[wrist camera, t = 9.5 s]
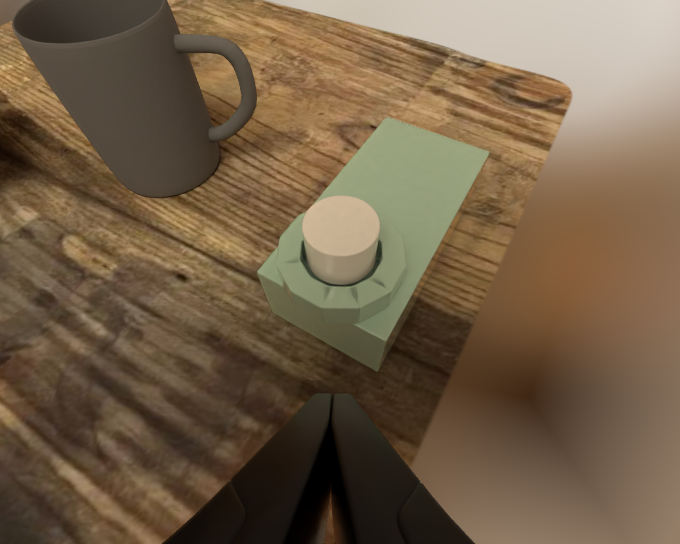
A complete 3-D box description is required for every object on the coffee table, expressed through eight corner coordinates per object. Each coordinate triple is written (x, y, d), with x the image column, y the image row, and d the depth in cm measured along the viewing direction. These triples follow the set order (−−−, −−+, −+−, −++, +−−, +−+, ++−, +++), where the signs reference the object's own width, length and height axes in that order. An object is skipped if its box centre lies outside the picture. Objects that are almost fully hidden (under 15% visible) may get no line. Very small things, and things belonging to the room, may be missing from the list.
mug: (101, 200, 30) (-25, 46, 20) (136, 129, 35) (49, -24, 24) (265, 200, 30) (224, 45, 19) (277, 129, 34) (249, -25, 24)
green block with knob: (380, 169, 31) (389, 93, 25) (468, 203, 29) (500, 128, 23) (265, 321, 24) (239, 263, 18) (371, 383, 22) (382, 340, 16)
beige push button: (329, 218, 20) (328, 185, 18) (387, 245, 19) (393, 212, 17) (293, 265, 18) (286, 235, 16) (354, 297, 17) (356, 268, 15)
